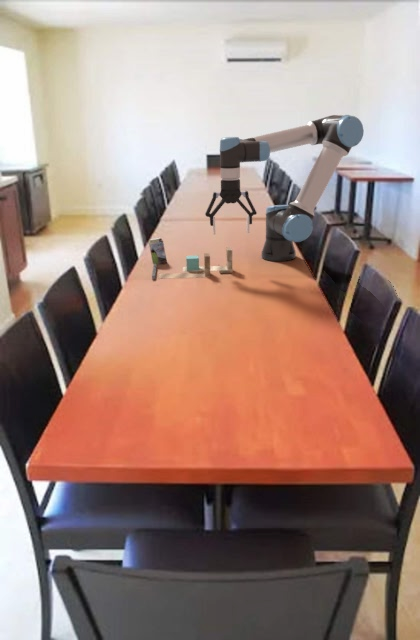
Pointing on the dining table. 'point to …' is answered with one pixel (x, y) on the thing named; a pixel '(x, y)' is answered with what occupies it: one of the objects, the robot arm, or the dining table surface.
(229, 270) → the beige long angled piece
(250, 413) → the dining table surface
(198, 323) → the dining table surface
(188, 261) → the block
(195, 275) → the strip oak
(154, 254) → the beverage can
